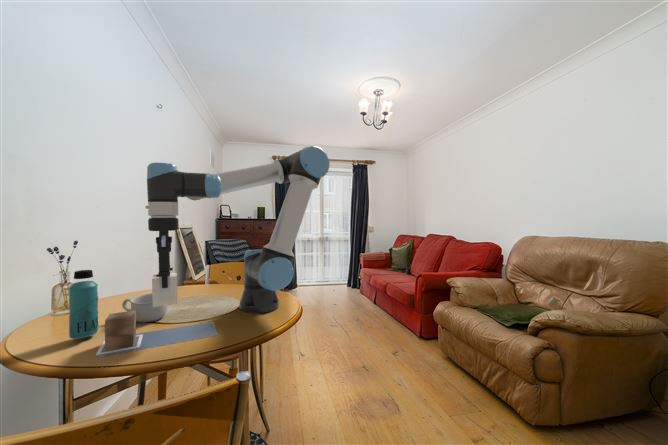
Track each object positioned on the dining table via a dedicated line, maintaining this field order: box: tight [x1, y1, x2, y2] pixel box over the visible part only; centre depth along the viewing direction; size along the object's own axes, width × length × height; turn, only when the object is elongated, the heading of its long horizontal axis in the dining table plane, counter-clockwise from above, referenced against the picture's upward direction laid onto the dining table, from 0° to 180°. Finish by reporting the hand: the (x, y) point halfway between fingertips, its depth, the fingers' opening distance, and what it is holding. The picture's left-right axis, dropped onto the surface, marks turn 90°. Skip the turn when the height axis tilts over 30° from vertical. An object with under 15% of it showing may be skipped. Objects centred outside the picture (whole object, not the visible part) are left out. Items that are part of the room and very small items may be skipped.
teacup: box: [122, 293, 169, 324], centre depth 96 cm, size 14×11×8 cm
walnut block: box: [104, 310, 137, 351], centre depth 77 cm, size 6×6×8 cm
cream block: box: [151, 272, 178, 307], centre depth 82 cm, size 6×6×8 cm
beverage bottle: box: [68, 269, 99, 340], centre depth 81 cm, size 6×7×20 cm
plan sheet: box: [95, 321, 219, 359], centre depth 82 cm, size 29×13×1 cm, turn 120°
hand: (165, 295), depth 82 cm, fingers closed on cream block, 6 cm apart
